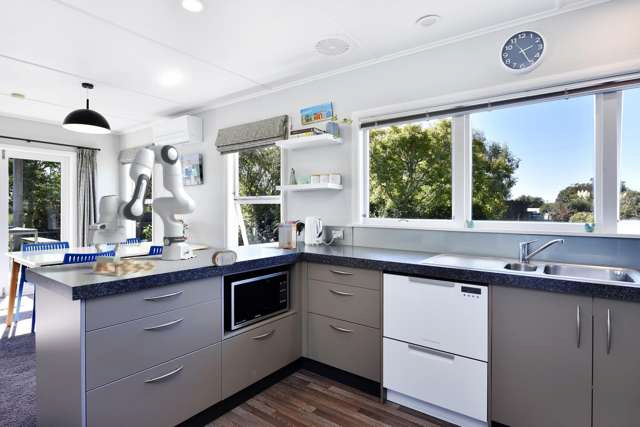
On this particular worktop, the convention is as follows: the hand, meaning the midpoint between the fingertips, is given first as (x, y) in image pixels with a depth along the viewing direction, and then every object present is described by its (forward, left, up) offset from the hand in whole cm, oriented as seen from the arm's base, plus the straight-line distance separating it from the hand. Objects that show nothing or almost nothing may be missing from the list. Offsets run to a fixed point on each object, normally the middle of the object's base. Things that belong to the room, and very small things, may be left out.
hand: (107, 252), depth 178 cm
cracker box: (-125, +46, -9) cm, 133 cm away
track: (+3, +16, -8) cm, 18 cm away
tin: (-31, +51, -9) cm, 60 cm away
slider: (-1, 0, -9) cm, 8 cm away
